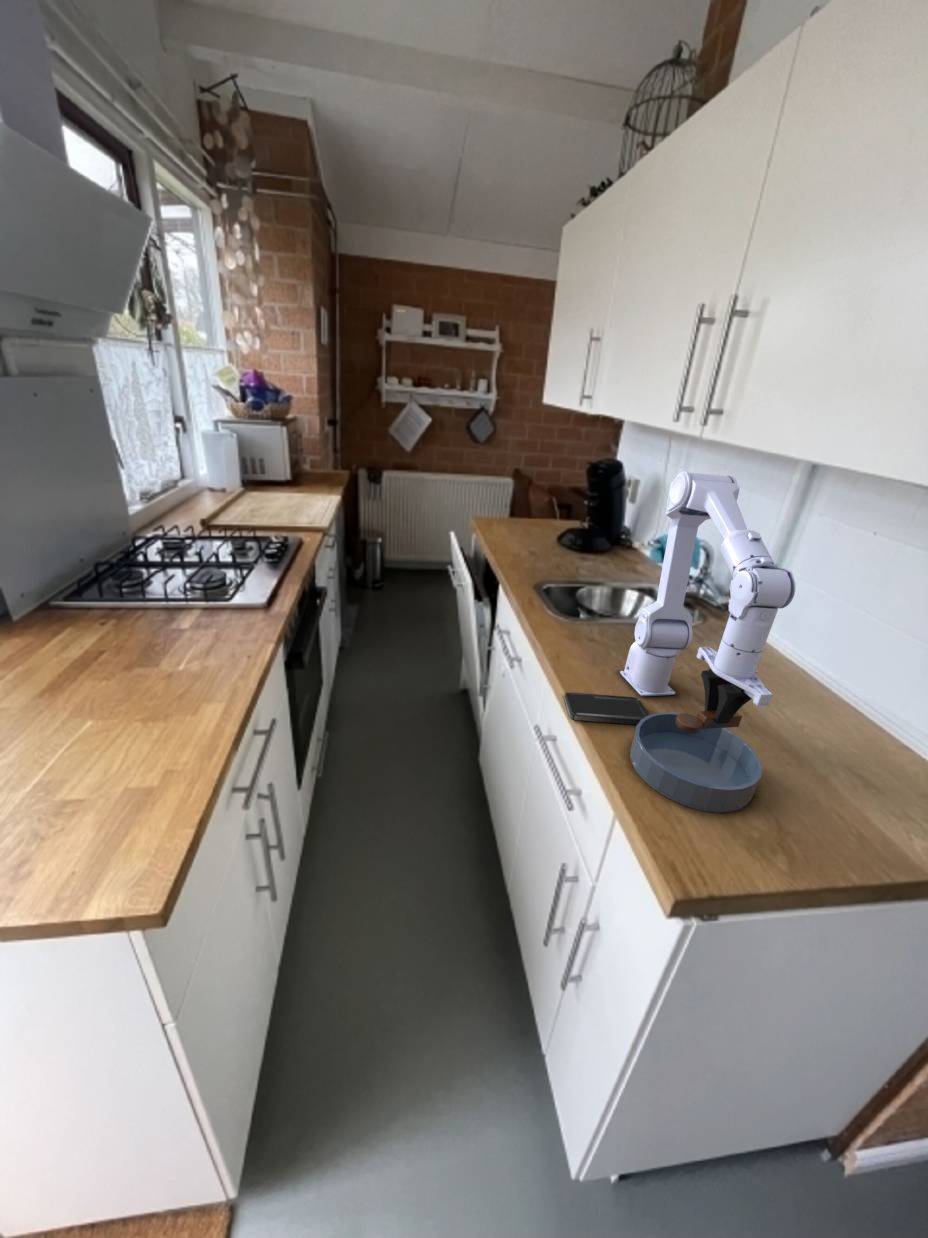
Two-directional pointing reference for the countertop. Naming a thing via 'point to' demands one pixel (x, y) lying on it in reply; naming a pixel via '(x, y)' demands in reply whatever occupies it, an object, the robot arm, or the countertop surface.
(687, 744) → the shallow round tray
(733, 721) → the brown elongated piece
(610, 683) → the countertop surface
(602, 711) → the phone
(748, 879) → the countertop surface
